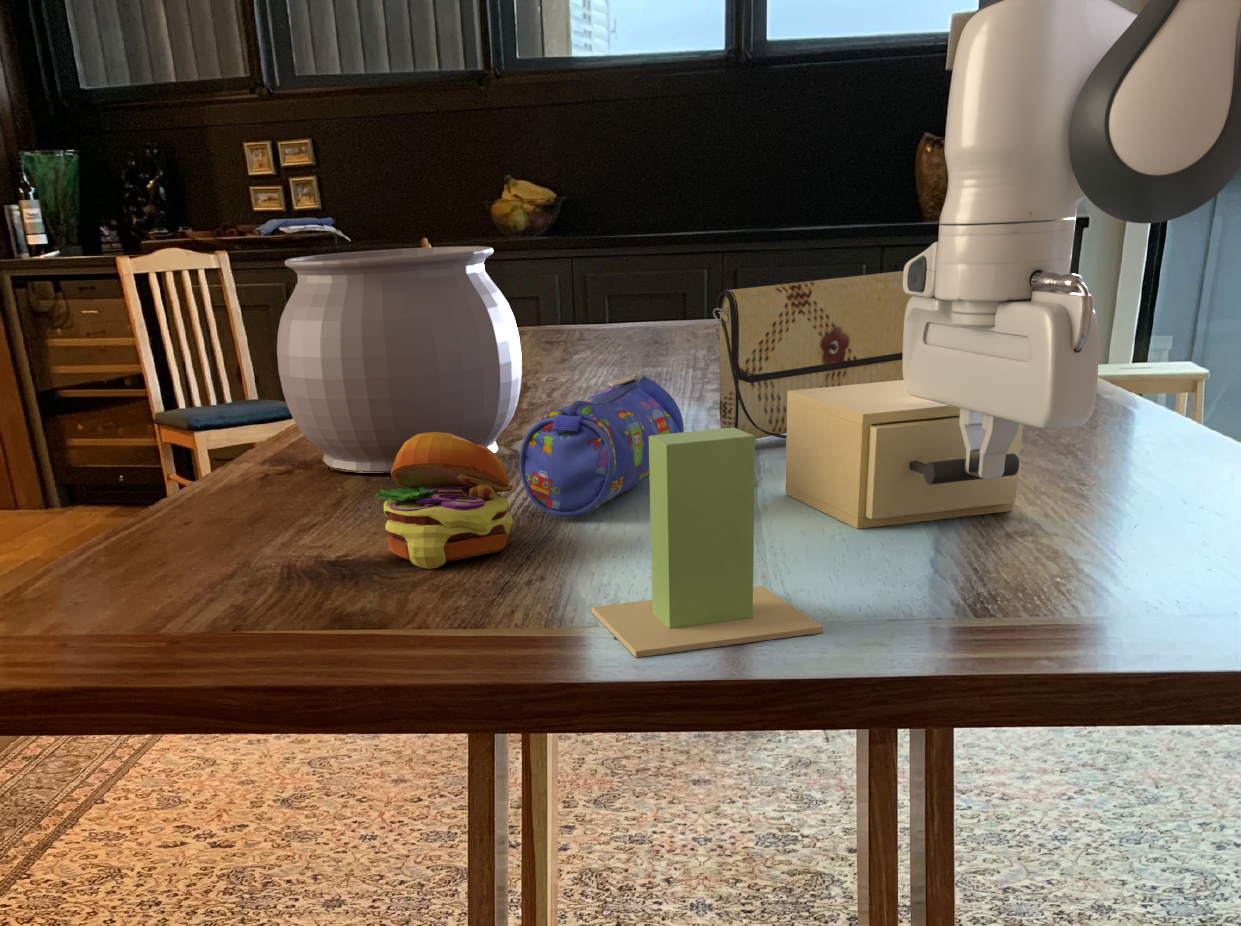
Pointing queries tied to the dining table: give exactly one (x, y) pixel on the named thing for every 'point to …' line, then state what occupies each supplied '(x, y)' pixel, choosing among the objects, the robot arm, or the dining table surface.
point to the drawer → (930, 470)
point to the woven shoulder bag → (805, 343)
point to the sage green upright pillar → (702, 526)
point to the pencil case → (595, 446)
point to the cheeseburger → (446, 501)
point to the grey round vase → (397, 352)
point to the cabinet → (851, 447)
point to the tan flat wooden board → (703, 626)
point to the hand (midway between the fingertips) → (983, 476)
